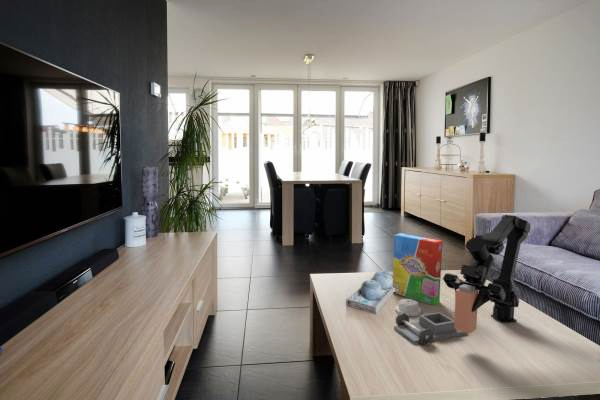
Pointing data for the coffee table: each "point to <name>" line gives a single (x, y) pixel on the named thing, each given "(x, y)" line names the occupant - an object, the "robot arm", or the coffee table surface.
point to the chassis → (427, 328)
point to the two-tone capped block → (465, 308)
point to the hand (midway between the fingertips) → (464, 308)
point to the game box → (417, 267)
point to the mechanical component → (408, 307)
